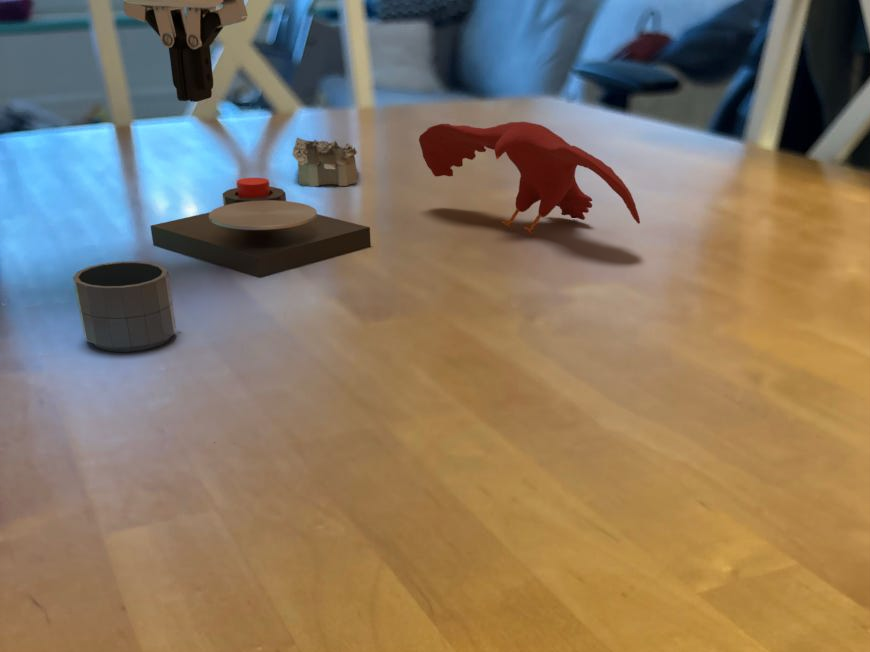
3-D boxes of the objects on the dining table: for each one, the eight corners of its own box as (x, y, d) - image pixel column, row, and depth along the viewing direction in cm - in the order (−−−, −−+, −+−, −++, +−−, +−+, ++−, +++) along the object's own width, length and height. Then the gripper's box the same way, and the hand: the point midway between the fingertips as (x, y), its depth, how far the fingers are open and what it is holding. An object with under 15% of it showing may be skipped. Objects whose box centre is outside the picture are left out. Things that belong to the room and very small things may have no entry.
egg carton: (357, 187, 130) (356, 150, 127) (293, 188, 129) (290, 150, 127) (358, 167, 138) (356, 131, 136) (297, 167, 138) (294, 132, 136)
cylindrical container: (68, 339, 86) (55, 274, 83) (142, 318, 90) (132, 256, 87) (120, 360, 82) (107, 293, 80) (194, 337, 87) (185, 273, 84)
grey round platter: (186, 216, 104) (186, 213, 103) (269, 198, 110) (269, 195, 110) (256, 236, 98) (256, 232, 98) (339, 215, 105) (338, 212, 104)
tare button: (231, 197, 112) (229, 181, 111) (256, 191, 114) (254, 175, 113) (252, 202, 110) (250, 186, 109) (276, 196, 112) (275, 180, 111)
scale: (149, 244, 109) (144, 207, 107) (261, 218, 117) (257, 183, 115) (259, 278, 100) (255, 238, 98) (371, 247, 109) (369, 209, 107)
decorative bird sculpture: (451, 243, 126) (379, 151, 113) (494, 175, 126) (427, 76, 114) (650, 300, 109) (591, 199, 97) (699, 221, 110) (646, 112, 98)
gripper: (51, -167, 84) (94, 100, 94) (231, -165, 80) (255, 111, 91) (105, -163, 90) (140, 88, 100) (275, -161, 86) (293, 98, 97)
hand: (195, 98), depth 95 cm, fingers closed
